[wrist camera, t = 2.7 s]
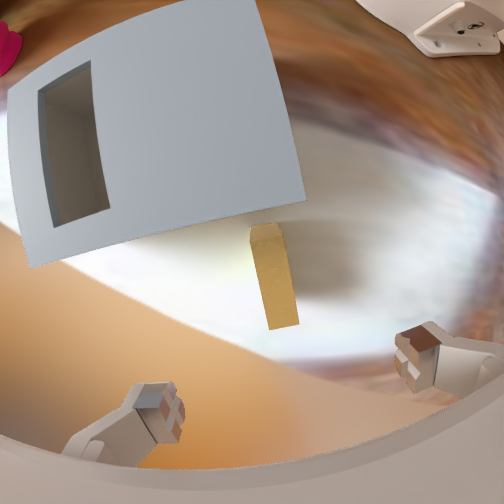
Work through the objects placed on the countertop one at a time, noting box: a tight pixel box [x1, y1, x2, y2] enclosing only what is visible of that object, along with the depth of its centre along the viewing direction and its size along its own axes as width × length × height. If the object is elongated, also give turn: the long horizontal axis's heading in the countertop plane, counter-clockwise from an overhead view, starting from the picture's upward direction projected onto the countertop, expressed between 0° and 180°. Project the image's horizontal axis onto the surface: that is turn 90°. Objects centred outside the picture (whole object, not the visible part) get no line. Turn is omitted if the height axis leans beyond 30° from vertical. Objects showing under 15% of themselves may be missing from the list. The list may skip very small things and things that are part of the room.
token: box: [250, 222, 299, 330], centre depth 20 cm, size 2×6×6 cm, turn 12°
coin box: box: [7, 0, 307, 269], centre depth 16 cm, size 16×12×10 cm
